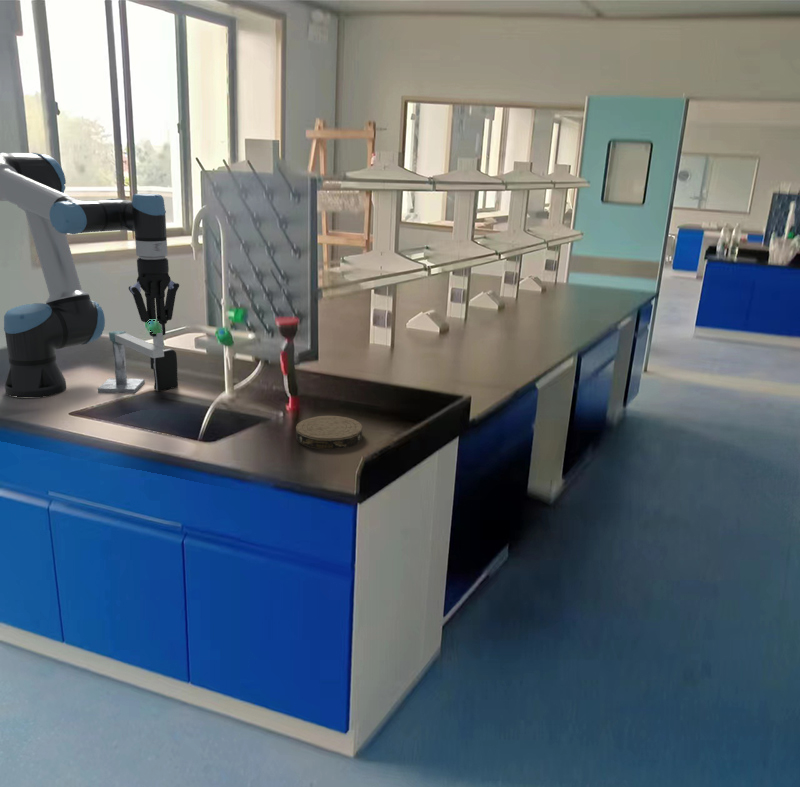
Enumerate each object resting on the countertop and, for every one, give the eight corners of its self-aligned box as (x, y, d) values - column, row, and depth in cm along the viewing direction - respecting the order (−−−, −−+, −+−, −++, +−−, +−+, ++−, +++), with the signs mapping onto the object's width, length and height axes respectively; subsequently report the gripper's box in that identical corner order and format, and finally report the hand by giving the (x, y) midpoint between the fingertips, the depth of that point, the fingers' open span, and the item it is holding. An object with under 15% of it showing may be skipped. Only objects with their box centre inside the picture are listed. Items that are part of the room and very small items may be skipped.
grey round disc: (334, 422, 188) (334, 411, 187) (375, 440, 177) (375, 428, 176) (282, 436, 177) (282, 424, 177) (323, 455, 167) (323, 443, 166)
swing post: (98, 392, 203) (93, 344, 199) (109, 382, 213) (105, 336, 209) (134, 393, 204) (131, 345, 200) (144, 382, 213) (141, 337, 209)
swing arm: (106, 339, 204) (106, 332, 204) (122, 337, 207) (121, 330, 207) (150, 358, 186) (150, 351, 186) (166, 356, 189) (166, 348, 189)
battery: (171, 384, 213) (168, 346, 209) (179, 387, 211) (177, 348, 207) (150, 389, 208) (147, 350, 204) (158, 392, 205) (155, 352, 202)
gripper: (134, 260, 178) (141, 354, 185) (183, 257, 186) (188, 347, 194) (120, 257, 183) (128, 348, 190) (169, 253, 192) (174, 341, 199)
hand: (158, 347), depth 192 cm, fingers closed
